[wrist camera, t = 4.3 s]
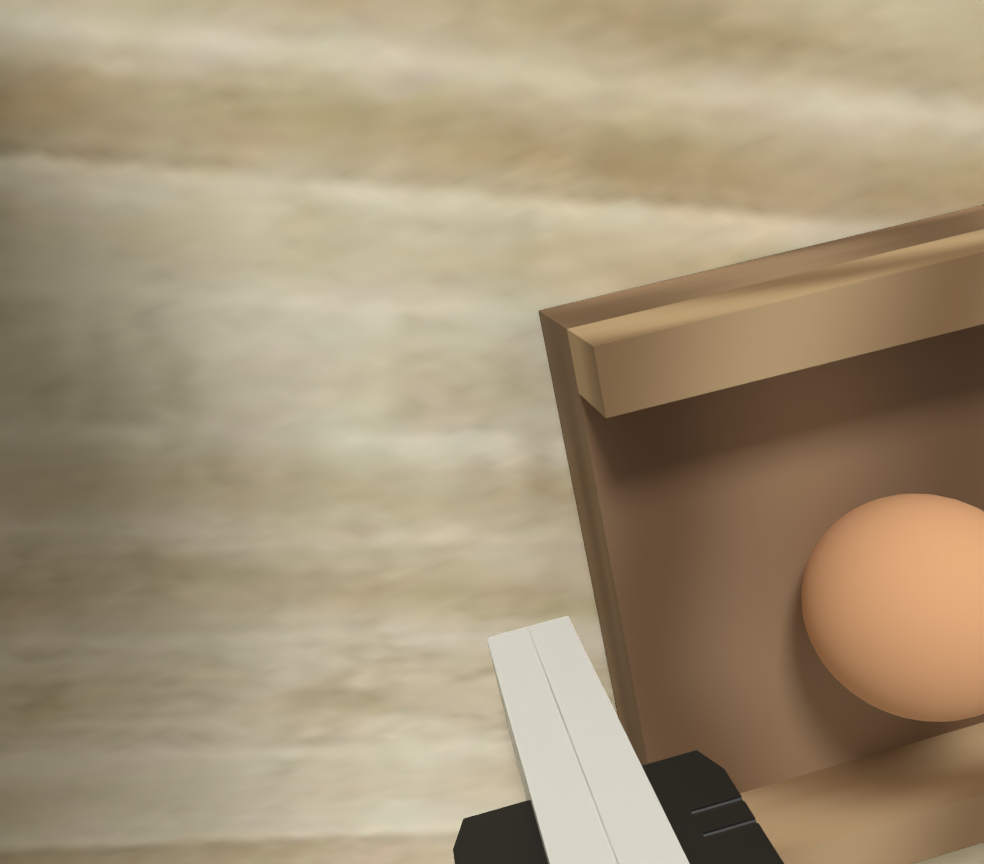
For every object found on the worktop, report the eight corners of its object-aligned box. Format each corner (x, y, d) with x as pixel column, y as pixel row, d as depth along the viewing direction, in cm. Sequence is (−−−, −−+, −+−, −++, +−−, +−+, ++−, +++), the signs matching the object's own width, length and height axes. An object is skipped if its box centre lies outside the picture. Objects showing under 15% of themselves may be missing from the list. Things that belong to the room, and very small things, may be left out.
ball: (775, 669, 18) (889, 800, 14) (753, 493, 16) (870, 583, 13) (953, 619, 18) (1112, 734, 14) (943, 443, 17) (1115, 517, 13)
